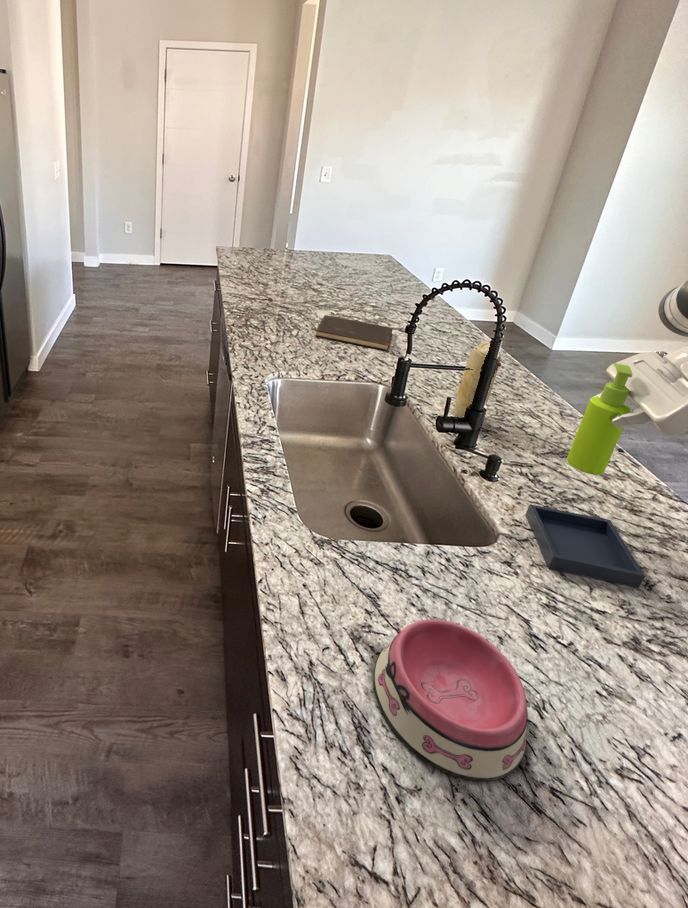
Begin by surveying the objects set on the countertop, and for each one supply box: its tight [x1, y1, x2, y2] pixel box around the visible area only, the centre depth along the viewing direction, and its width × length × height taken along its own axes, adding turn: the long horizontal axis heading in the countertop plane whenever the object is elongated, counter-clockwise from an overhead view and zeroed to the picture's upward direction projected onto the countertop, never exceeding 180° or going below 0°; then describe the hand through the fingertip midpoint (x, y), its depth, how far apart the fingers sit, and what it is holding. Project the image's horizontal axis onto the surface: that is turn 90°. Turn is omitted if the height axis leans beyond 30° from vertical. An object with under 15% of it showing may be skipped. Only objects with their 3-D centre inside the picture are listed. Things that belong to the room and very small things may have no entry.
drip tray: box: [525, 503, 646, 589], centre depth 97 cm, size 14×14×3 cm
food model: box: [453, 342, 502, 418], centre depth 132 cm, size 10×7×20 cm
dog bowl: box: [372, 618, 529, 782], centre depth 70 cm, size 18×19×7 cm
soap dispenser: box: [566, 362, 633, 476], centre depth 97 cm, size 6×7×20 cm
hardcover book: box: [314, 314, 394, 352], centre depth 181 cm, size 16×23×2 cm
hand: (603, 412), depth 96 cm, fingers closed on soap dispenser, 6 cm apart
